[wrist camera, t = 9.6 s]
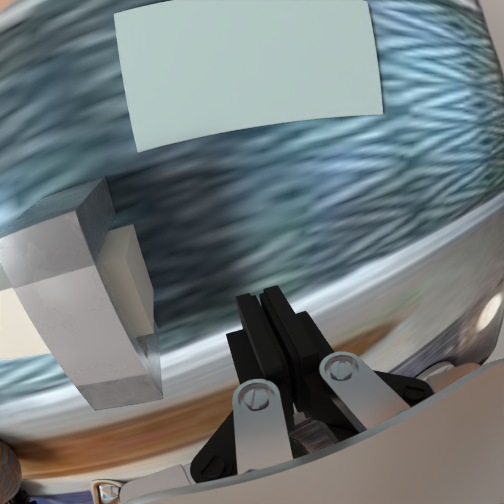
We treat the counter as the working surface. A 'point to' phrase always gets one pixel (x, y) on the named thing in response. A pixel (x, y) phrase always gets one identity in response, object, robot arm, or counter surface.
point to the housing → (80, 297)
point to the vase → (9, 473)
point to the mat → (244, 65)
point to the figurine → (20, 498)
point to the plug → (122, 280)
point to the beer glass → (106, 491)
